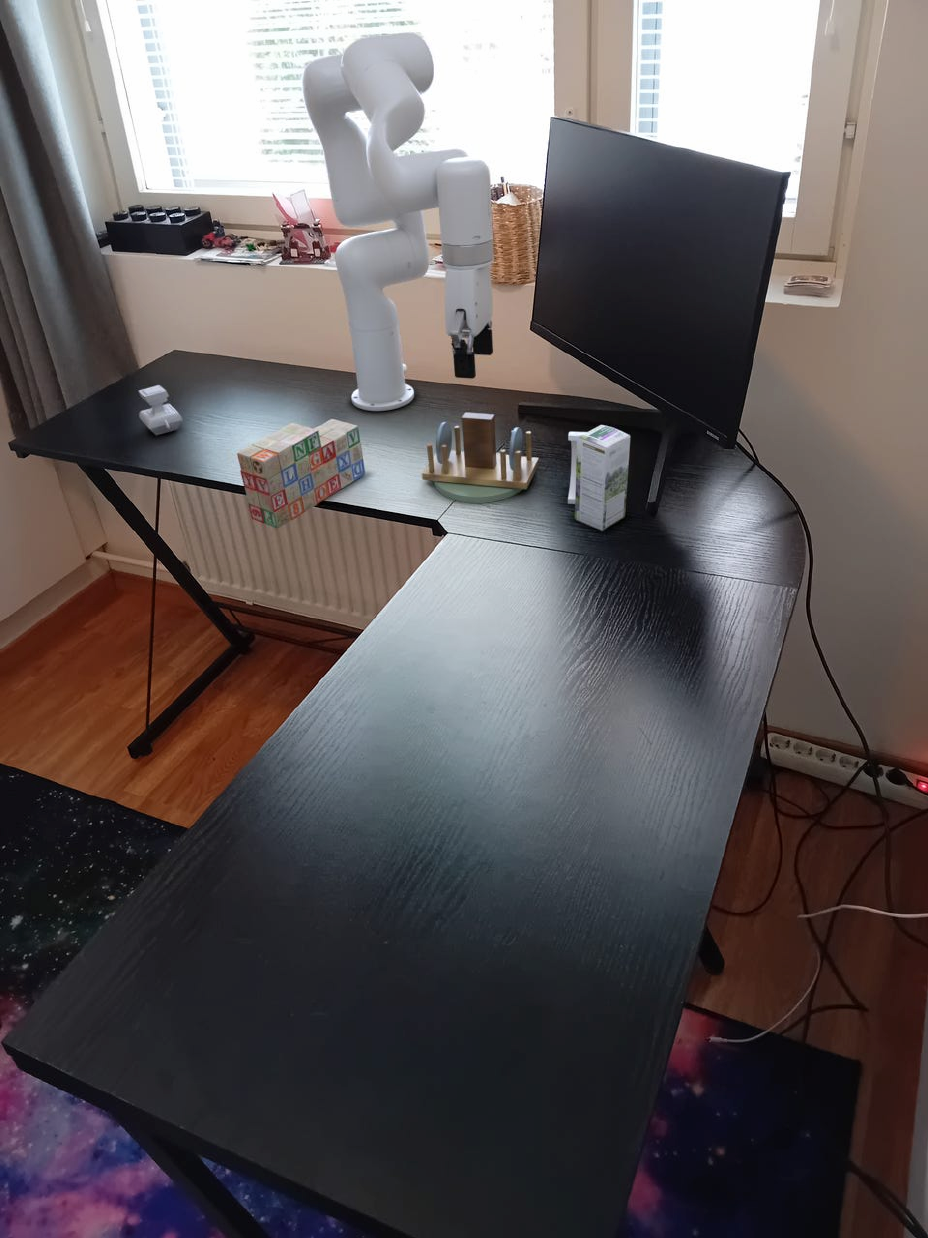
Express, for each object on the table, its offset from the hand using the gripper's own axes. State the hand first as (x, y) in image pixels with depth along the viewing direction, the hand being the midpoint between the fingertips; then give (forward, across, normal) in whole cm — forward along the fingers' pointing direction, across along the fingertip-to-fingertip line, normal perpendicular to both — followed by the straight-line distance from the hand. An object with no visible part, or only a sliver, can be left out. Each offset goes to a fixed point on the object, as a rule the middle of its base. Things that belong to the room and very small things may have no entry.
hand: (474, 365), depth 147 cm
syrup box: (+21, +8, +22) cm, 31 cm away
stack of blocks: (+21, +10, -27) cm, 36 cm away
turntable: (+21, -1, 0) cm, 21 cm away
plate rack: (+19, -1, 0) cm, 19 cm away
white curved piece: (+21, +1, +18) cm, 27 cm away
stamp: (+20, -9, -67) cm, 71 cm away
